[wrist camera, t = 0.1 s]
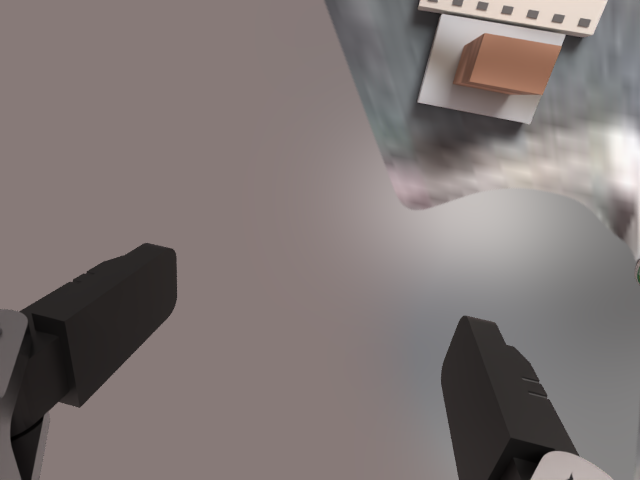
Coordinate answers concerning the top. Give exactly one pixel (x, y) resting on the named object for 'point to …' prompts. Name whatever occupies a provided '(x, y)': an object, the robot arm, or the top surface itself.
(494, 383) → the robot arm
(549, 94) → the top surface
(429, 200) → the top surface
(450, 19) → the stub
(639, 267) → the supplement bottle
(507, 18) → the note pad
